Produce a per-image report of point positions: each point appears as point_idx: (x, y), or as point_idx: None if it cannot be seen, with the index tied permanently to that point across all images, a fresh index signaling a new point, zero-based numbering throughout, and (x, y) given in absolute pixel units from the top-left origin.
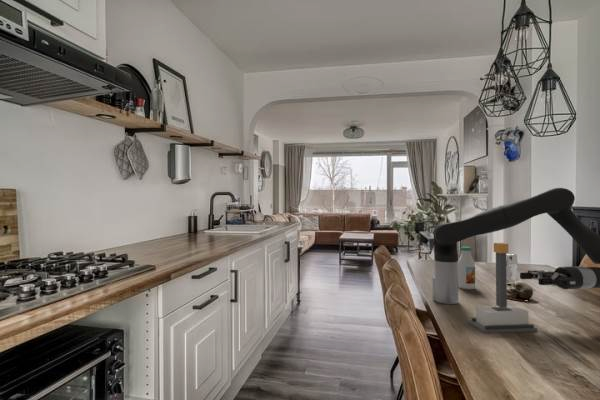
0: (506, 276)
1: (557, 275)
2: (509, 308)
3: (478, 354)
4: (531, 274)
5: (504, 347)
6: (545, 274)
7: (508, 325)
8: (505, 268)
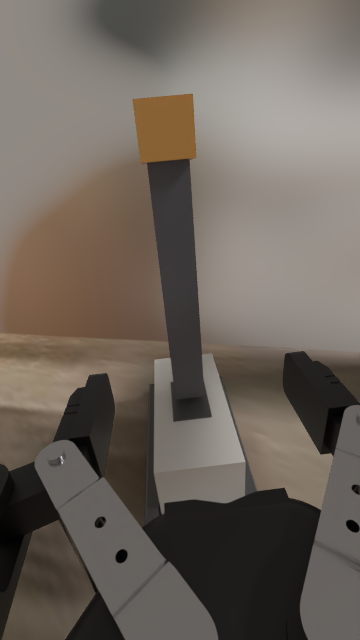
0: (162, 287)
1: (67, 526)
2: (198, 424)
3: (58, 357)
4: (333, 425)
5: (64, 398)
6: (269, 503)
7: (153, 434)
8: (157, 249)
